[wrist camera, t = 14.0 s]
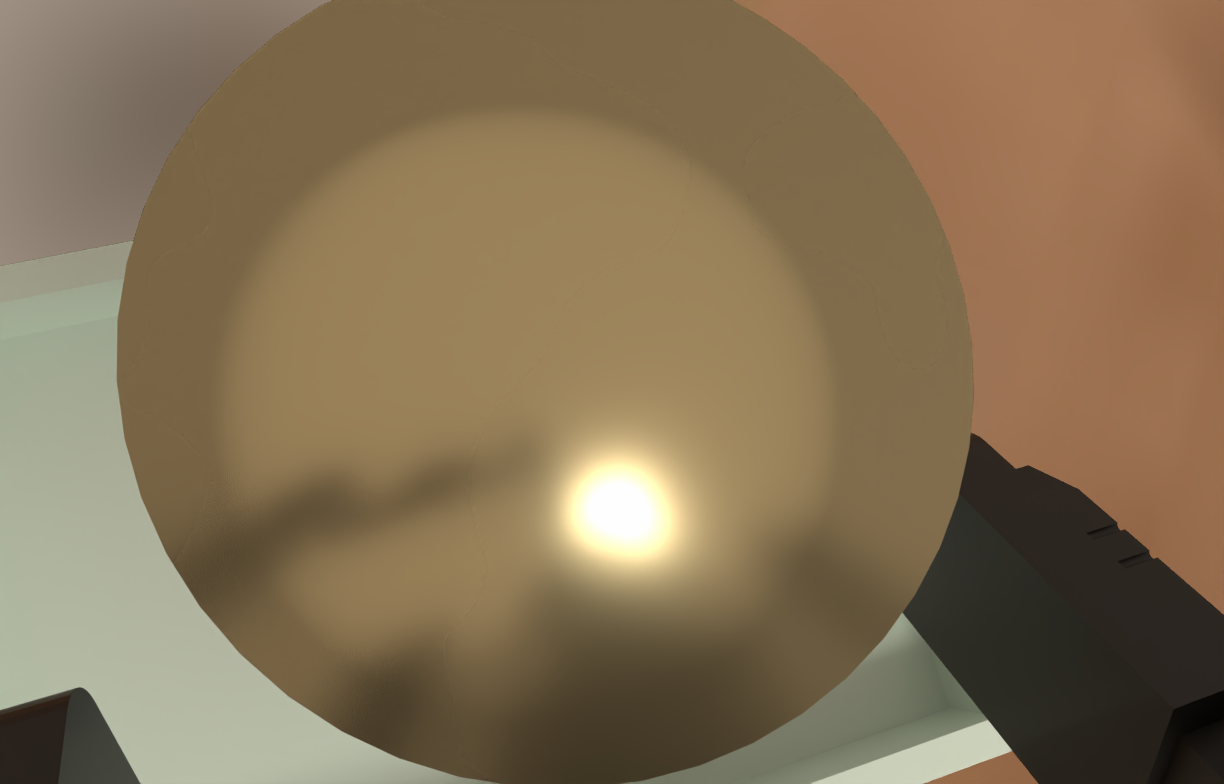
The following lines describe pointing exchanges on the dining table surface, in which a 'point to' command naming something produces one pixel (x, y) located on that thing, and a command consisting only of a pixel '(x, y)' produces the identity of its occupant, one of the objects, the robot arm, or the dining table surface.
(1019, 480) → the robot arm
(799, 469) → the metal pin
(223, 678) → the tray
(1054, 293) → the dining table surface
